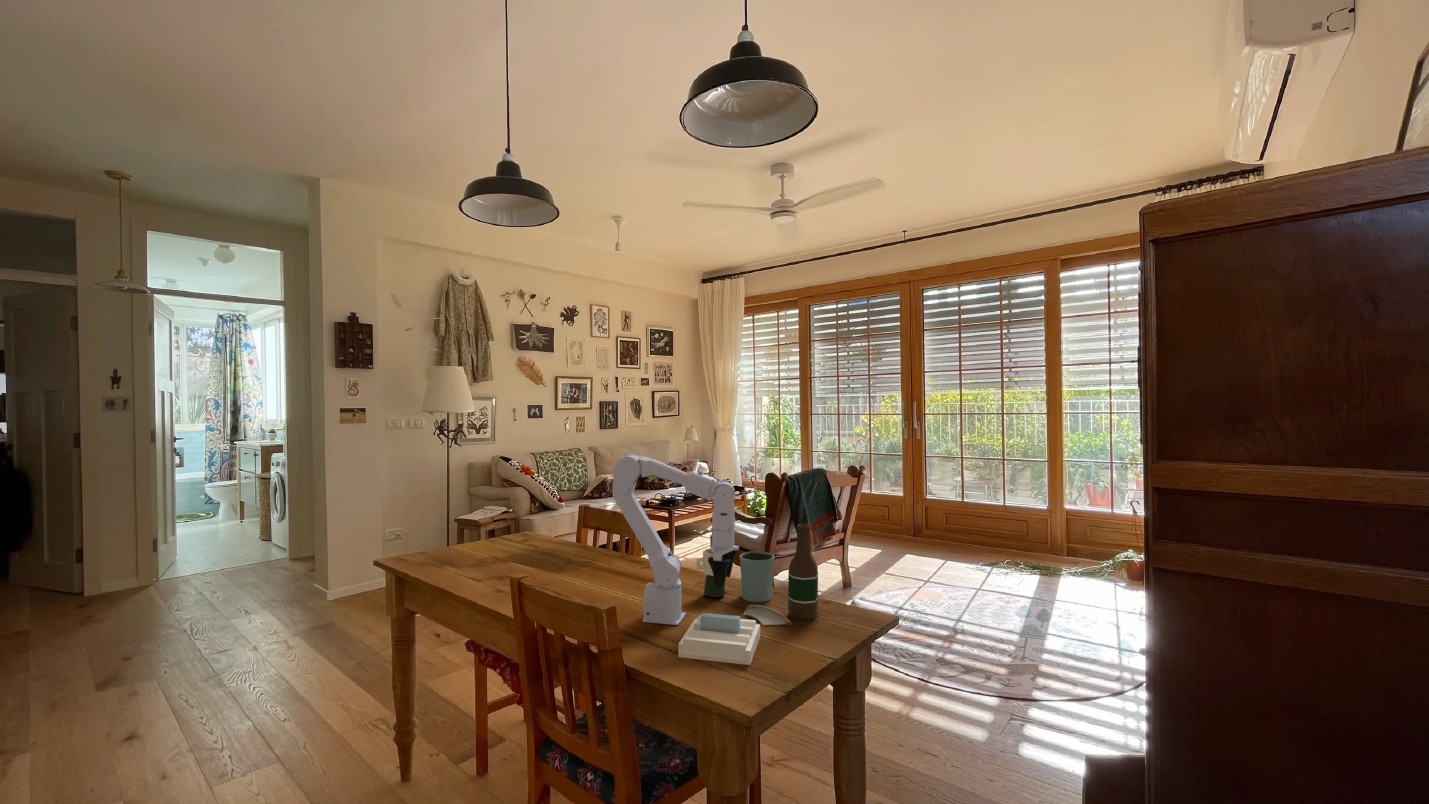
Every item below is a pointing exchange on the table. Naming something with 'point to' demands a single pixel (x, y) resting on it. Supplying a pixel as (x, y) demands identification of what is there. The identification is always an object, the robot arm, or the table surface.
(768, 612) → the ceramic fragment
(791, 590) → the beer bottle
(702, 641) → the rack
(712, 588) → the cream and green mug
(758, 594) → the light blue cup
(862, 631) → the table surface
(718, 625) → the tile
